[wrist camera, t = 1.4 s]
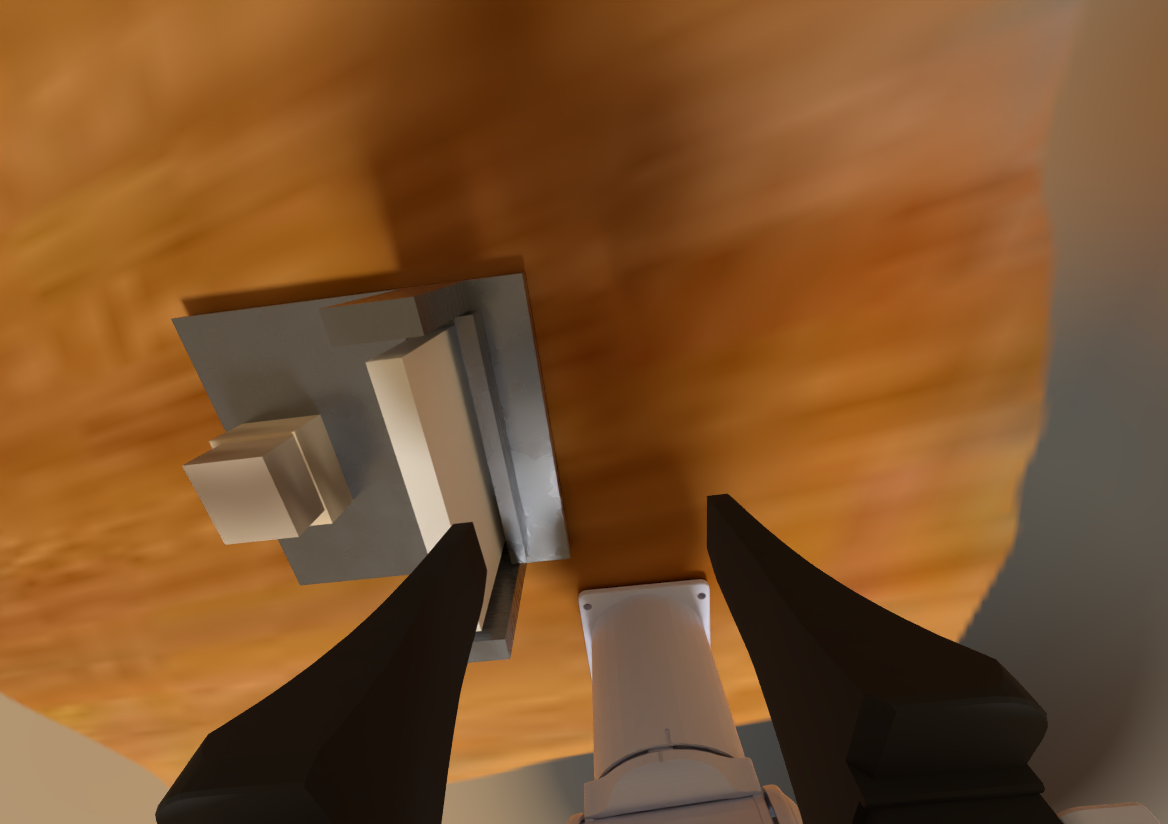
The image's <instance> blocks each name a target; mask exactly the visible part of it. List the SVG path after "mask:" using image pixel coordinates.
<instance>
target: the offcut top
mask: <svg viewBox="0 0 1168 824" xmlns="http://www.w3.org/2000/svg"><path fill="white" fill-rule="evenodd" d="M183 468H184V470H185V472H186V474H187V476H188V477H189V479H190V481H191V483H192V485H193V487H194V488H195V490H196V492H197V494H198V496H199V498H200V499H201V501H202V503H203V505H204V507H205V509H206V510H207V512H208V514H209V516H210V518H211V520H212V521H213V523H214V525H215V527H216V529H217V531H218V532H219V534H220V536H221V538H222V540H223V542H224V543H225V545H226V544H236V543H245V542H255V541H264V540H274V539H283V538H293V537H299V536H300V535H301V534H302V533H303V532H304V531H305V530H306V529H307V528H308V527H309V526H310V525H311V524H312V523H313V522H314V521H315V520H316V519H317V518H318V517H319V516H320V515H321V514H322V513H323V512H324V511H325V509H324V507H323V504H322V502H321V499H320V497H319V495H318V492H317V490H316V488H315V485H314V483H313V480H312V478H311V476H310V473H309V471H308V468H307V466H306V464H305V461H304V459H303V457H302V454H301V452H300V449H299V447H298V445H297V442H296V440H295V437H294V436H287V437H278V438H270V439H261V440H253V441H244V442H235V443H227V444H221V445H219V446H217V447H215V448H213V449H212V450H210V451H208V452H206V453H204V454H203V455H201V456H199V457H197V458H195V459H194V460H192V461H190V462H188V463H186V464H185V465H183Z"/></svg>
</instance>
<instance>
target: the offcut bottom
mask: <svg viewBox="0 0 1168 824" xmlns="http://www.w3.org/2000/svg"><path fill="white" fill-rule="evenodd" d="M287 436H294V437H295V440H296V442H297V445H298V447H299V449H300V452H301V454H302V457H303V459H304V461H305V464H306V466H307V468H308V471H309V473H310V476H311V478H312V480H313V483H314V485H315V488H316V490H317V492H318V495H319V497H320V499H321V502H322V504H323V507H324V509H325V511H324V512H323V513H322V514H321V515H320V516H319V517H318V518H317V519H316V520H315V521H314V522H313V523H312V524H311V525H310V526H313V525H323V524H332V523H334V521H335V520H336V519H337V518H338V517H339V516H340V515H341V514H342V512H343V511H344V510H345V509H346V508H347V507H348V506H349V505H350V504H351V502H352V501H353V498H352V496H351V493H350V490H349V488H348V485H347V483H346V480H345V477H344V475H343V472H342V470H341V467H340V464H339V462H338V459H337V457H336V454H335V451H334V449H333V446H332V444H331V441H330V439H329V436H328V433H327V431H326V428H325V426H324V423H323V420H322V418H321V415H312V416H304V417H295V418H287V419H278V420H270V421H261V422H253V423H244V424H241V425H239V426H237V427H235V428H233V429H231V430H229V431H228V432H226V433H224V434H222V435H220V436H218V437H216V438H214V439H212V440H211V441H209V443H210V445H211V447H212V449H213V448H215V447H217V446H219V445H221V444H227V443H235V442H244V441H253V440H261V439H270V438H278V437H287Z"/></svg>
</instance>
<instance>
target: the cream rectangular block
mask: <svg viewBox="0 0 1168 824" xmlns="http://www.w3.org/2000/svg"><path fill="white" fill-rule="evenodd" d="M365 363H366V366H367V369H368V372H369V375H370V378H371V381H372V384H373V387H374V390H375V394H376V397H377V400H378V403H379V406H380V409H381V412H382V415H383V418H384V421H385V424H386V427H387V430H388V433H389V436H390V439H391V443H392V446H393V449H394V452H395V455H396V458H397V461H398V464H399V467H400V470H401V473H402V476H403V479H404V482H405V485H406V489H407V492H408V495H409V498H410V501H411V504H412V507H413V510H414V513H415V516H416V519H417V522H418V525H419V528H420V531H421V535H422V538H423V541H424V544H425V547H426V550H427V553H429V552H430V551H431V550H432V548H433V547H434V546H435V545H436V544H437V542H438V541H439V540H440V539H441V538H442V537H443V535H444V534H445V533H446V532H447V531H448V529H449V528H450V527H451V526H452V525H453V524H457V523H466V522H473V524H474V528H475V531H476V534H477V538H478V541H479V544H480V547H481V551H482V554H483V557H484V561H485V564H486V567H487V578H486V587H485V594H484V601H483V606H482V610H481V614H480V618H479V621H478V625H477V629H476V631H482V627H483V623H484V619H485V615H486V612H487V608H488V604H489V600H490V596H491V592H492V589H493V585H494V581H495V577H496V573H497V570H498V566H499V562H500V558H501V554H502V551H503V547H504V543H505V534H504V530H503V526H502V522H501V517H500V513H499V509H498V505H497V501H496V496H495V492H494V488H493V484H492V479H491V475H490V471H489V467H488V462H487V458H486V454H485V450H484V445H483V441H482V437H481V433H480V429H479V424H478V420H477V416H476V412H475V407H474V403H473V399H472V395H471V390H470V386H469V382H468V378H467V373H466V369H465V365H464V361H463V357H462V352H461V348H460V344H459V340H458V335H457V331H456V327H455V324H454V325H446V326H440V327H439V328H437V329H435V330H433V331H432V332H430V333H428V334H427V335H425V336H419V337H411V338H409V339H407V340H405V341H404V342H402V343H400V344H398V345H396V346H394V347H392V348H391V349H389V350H387V351H385V352H383V353H381V354H380V355H378V356H376V357H374V358H372V359H370V360H369V361H367V362H365Z"/></svg>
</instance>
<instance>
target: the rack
mask: <svg viewBox="0 0 1168 824" xmlns="http://www.w3.org/2000/svg"><path fill="white" fill-rule="evenodd" d="M171 320H172V322H173V324H174V326H175V328H176V330H177V332H178V334H179V336H180V338H181V340H182V342H183V344H184V347H185V349H186V351H187V353H188V355H189V357H190V359H191V361H192V363H193V365H194V367H195V369H196V371H197V373H198V375H199V377H200V380H201V382H202V384H203V386H204V388H205V390H206V392H207V394H208V396H209V398H210V400H211V402H212V404H213V406H214V408H215V410H216V413H217V415H218V417H219V419H220V421H221V423H222V425H223V427H224V429H225V431H226V432H228V431H229V430H231V429H233V428H235V427H237V426H239V425H241V424H244V423H253V422H261V421H270V420H278V419H287V418H295V417H304V416H312V415H321V418H322V420H323V423H324V426H325V428H326V431H327V433H328V436H329V439H330V441H331V444H332V446H333V449H334V451H335V454H336V457H337V459H338V462H339V464H340V467H341V470H342V472H343V475H344V477H345V480H346V483H347V485H348V488H349V490H350V493H351V496H352V498H353V501H352V502H351V504H350V505H349V506H348V507H347V508H346V509H345V510H344V511H343V512H342V514H341V515H340V516H339V517H338V518H337V519H336V520H335V521H334V523H332V524H323V525H313V526H309V527H308V528H307V529H306V530H305V531H304V532H303V533H302V534H301V535H300V536H299V537H293V538H283V539H278V540H279V543H280V545H281V547H282V549H283V551H284V553H285V555H286V557H287V559H288V561H289V563H290V565H291V567H292V569H293V571H294V573H295V576H296V578H297V580H298V582H299V584H300V585H309V584H319V583H329V582H339V581H349V580H359V579H369V578H379V577H389V576H399V575H409V574H411V573H412V572H413V570H414V569H415V568H416V567H417V566H418V565H419V564H420V562H421V561H422V560H423V559H424V558H425V557H426V555H427V554H428V553H427V550H426V547H425V544H424V541H423V538H422V535H421V531H420V528H419V525H418V522H417V519H416V516H415V513H414V510H413V507H412V504H411V501H410V498H409V495H408V492H407V489H406V485H405V482H404V479H403V476H402V473H401V470H400V467H399V464H398V461H397V458H396V455H395V452H394V449H393V446H392V443H391V439H390V436H389V433H388V430H387V427H386V424H385V421H384V418H383V415H382V412H381V409H380V406H379V403H378V400H377V397H376V394H375V390H374V387H373V384H372V381H371V378H370V375H369V372H368V369H367V366H366V363H365V362H367V361H369V360H370V359H372V358H374V357H376V356H378V355H380V354H381V353H383V352H385V351H387V350H389V349H391V348H392V347H394V346H396V345H398V344H400V343H402V342H404V341H405V340H407V339H409V338H411V337H419V336H425V335H427V334H428V333H430V332H432V331H433V330H435V329H437V328H439V327H440V326H446V325H454V324H455V327H456V331H457V335H458V340H459V344H460V348H461V352H462V357H463V361H464V365H465V369H466V373H467V378H468V382H469V386H470V390H471V395H472V399H473V403H474V407H475V412H476V416H477V420H478V424H479V429H480V433H481V437H482V441H483V445H484V450H485V454H486V458H487V462H488V467H489V471H490V475H491V479H492V484H493V488H494V492H495V496H496V501H497V505H498V509H499V513H500V517H501V522H502V526H503V530H504V534H505V543H504V547H503V551H502V554H501V558H500V562H499V566H498V570H497V573H496V577H495V581H494V585H493V589H492V592H491V596H490V600H489V604H488V608H487V612H486V615H485V619H484V623H483V627H482V631H476V633H475V637H474V641H473V644H472V648H471V652H470V656H469V660H468V663H469V662H481V661H492V660H503V659H510V657H511V651H512V645H513V640H514V634H515V628H516V623H517V617H518V611H519V605H520V600H521V594H522V588H523V583H524V577H525V571H526V565H527V563H529V562H539V561H549V560H559V559H569V558H570V551H571V546H570V540H569V534H568V528H567V522H566V516H565V510H564V504H563V498H562V492H561V486H560V480H559V474H558V468H557V462H556V456H555V450H554V444H553V438H552V432H551V426H550V420H549V414H548V408H547V402H546V396H545V390H544V384H543V378H542V371H541V365H540V359H539V353H538V347H537V341H536V335H535V329H534V323H533V317H532V311H531V305H530V299H529V293H528V287H527V281H526V275H525V272H520V273H512V274H505V275H497V276H489V277H482V278H474V279H466V280H459V281H451V282H443V283H436V284H428V285H420V286H413V287H405V288H397V289H389V290H382V291H374V292H366V293H359V294H351V295H343V296H336V297H328V298H320V299H313V300H305V301H297V302H290V303H282V304H274V305H267V306H259V307H251V308H243V309H236V310H228V311H220V312H213V313H205V314H197V315H190V316H184V317H179V318H173V319H171Z"/></svg>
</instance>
